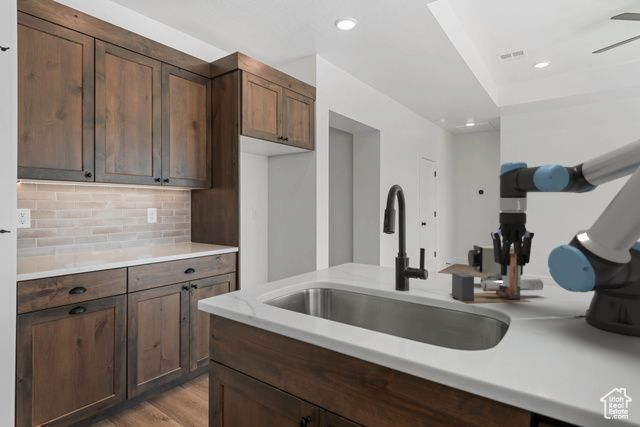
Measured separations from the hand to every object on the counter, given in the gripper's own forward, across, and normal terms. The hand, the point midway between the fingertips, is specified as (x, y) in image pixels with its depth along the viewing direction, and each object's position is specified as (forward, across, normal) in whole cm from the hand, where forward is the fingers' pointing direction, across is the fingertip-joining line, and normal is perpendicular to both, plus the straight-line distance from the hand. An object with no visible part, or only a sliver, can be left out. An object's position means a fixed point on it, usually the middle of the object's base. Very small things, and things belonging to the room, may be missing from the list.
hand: (511, 285), depth 110 cm
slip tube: (+4, -5, -4) cm, 7 cm away
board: (+7, +4, -7) cm, 10 cm away
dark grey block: (+6, +12, -7) cm, 15 cm away
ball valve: (+7, -8, -23) cm, 25 cm away
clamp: (+6, -4, -7) cm, 10 cm away
